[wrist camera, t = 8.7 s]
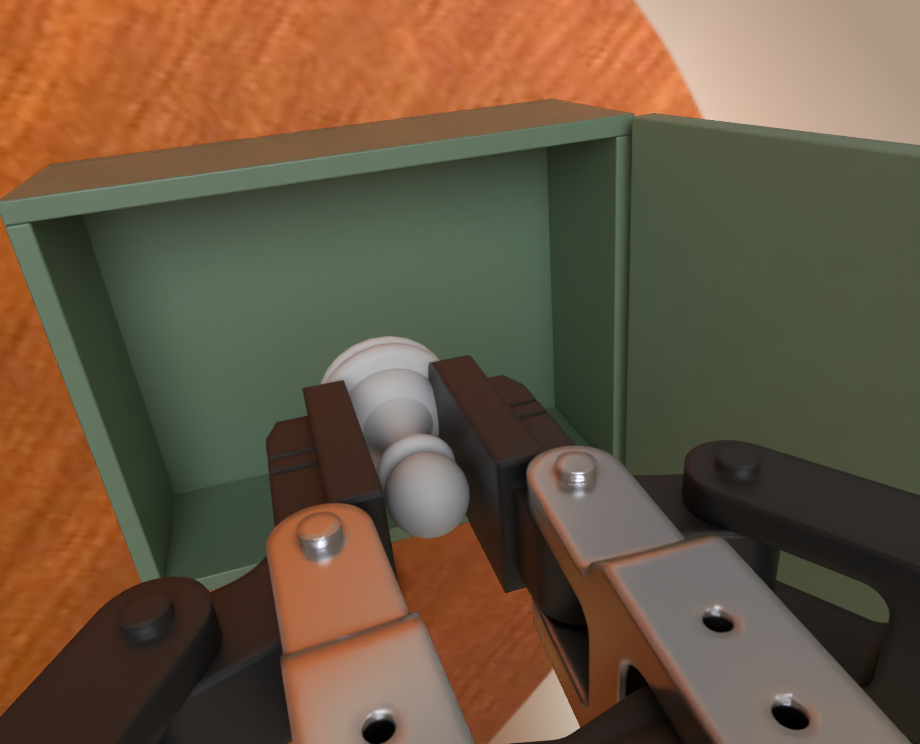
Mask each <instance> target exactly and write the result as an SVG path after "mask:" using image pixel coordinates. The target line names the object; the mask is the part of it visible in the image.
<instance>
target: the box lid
mask: <svg viewBox="0 0 920 744" xmlns="http://www.w3.org/2000/svg"><path fill="white" fill-rule="evenodd" d="M718 440H735V441H743V442H749V443H753V444H756V445H760V446H763V447H766V448H769V449H773V450H776V451H779V452H782V453H785V454H789V455H792V456H795V457H798V458H802V459H805V460H808V461H811V462H814V463H818V464H821V465H824V466H827V467H831V468H834V469H837V470H840V471H843V472H847V473H850V474H853V475H856V476H859V477H863V478H866V479H869V480H872V481H876V482H879V483H882V484H885V485H888V486H892V487H895V488H898V489H901V490H905V491H908V492H911V493H914V494H917V495H920V145H913V144H905V143H897V142H888V141H879V140H871V139H863V138H855V137H846V136H838V135H830V134H822V133H813V132H805V131H796V130H789V129H780V128H772V127H764V126H755V125H747V124H738V123H730V122H722V121H714V120H705V119H697V118H689V117H680V116H672V115H664V114H656V113H653V114H647V115H641V116H635V117H633V122H632V172H631V222H630V271H629V321H628V371H627V420H626V468H627V470H628V471H629V472H630V473H631V474H632V475H669V474H684V460H685V457H686V455H687V454H688V452H689V451H690V450H692V449H693V448H694V447H696V446H698V445H700V444H703V443H706V442H711V441H718ZM776 580H778V581H780V582H782V583H785V584H787V585H789V586H792V587H794V588H797V589H799V590H801V591H804V592H806V593H808V594H811V595H813V596H815V597H818V598H820V599H823V600H825V601H827V602H830V603H832V604H834V605H837V606H839V607H841V608H844V609H846V610H849V611H851V612H853V613H856V614H858V615H860V616H863V617H865V618H867V619H870V620H873V621H876V622H882V623H888V621H889V609H888V606H887V604H886V602H885V601H884V599H883V598H882V597H881V596H880V595H879V594H878V593H877V592H876V591H875V590H874V589H872V588H871V587H869V586H868V585H866V584H864V583H862V582H860V581H857V580H854V579H852V578H849V577H847V576H844V575H842V574H839V573H837V572H834V571H832V570H829V569H827V568H824V567H822V566H819V565H817V564H814V563H812V562H809V561H806V560H804V559H801V558H799V557H796V556H794V555H791V554H789V553H786V552H784V551H781V552H780V558H779V564H778V571H777V577H776Z"/></svg>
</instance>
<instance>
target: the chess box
mask: <svg viewBox="0 0 920 744" xmlns="http://www.w3.org/2000/svg"><path fill="white" fill-rule="evenodd" d="M633 117H634V114H633V113H628V112H623V111H617V110H612V109H606V108H601V107H595V106H590V105H584V104H579V103H573V102H568V101H562V100H556V99H548V100H540V101H533V102H525V103H517V104H509V105H502V106H494V107H486V108H479V109H471V110H463V111H456V112H448V113H440V114H433V115H425V116H417V117H409V118H402V119H394V120H386V121H379V122H371V123H363V124H356V125H348V126H340V127H332V128H325V129H317V130H309V131H302V132H294V133H286V134H279V135H271V136H263V137H256V138H248V139H240V140H232V141H225V142H217V143H209V144H202V145H194V146H186V147H179V148H171V149H163V150H155V151H148V152H140V153H132V154H125V155H117V156H109V157H102V158H94V159H86V160H79V161H71V162H63V163H55V164H50V165H48V166H47V167H45V168H44V169H42V170H41V171H40V172H38V173H37V174H35V175H34V176H32V177H31V178H30V179H28V180H27V181H25V182H24V183H22V184H21V185H20V186H18V187H17V188H15V189H14V190H13V191H11V192H10V193H8V194H7V195H5V196H4V197H3V198H1V199H0V216H1V219H2V221H3V224H4V225H7V226H6V231H7V234H8V236H9V239H10V241H11V244H12V247H13V249H14V252H15V255H16V257H17V260H18V262H19V265H20V268H21V270H22V273H23V275H24V278H25V281H26V283H27V286H28V288H29V291H30V294H31V296H32V299H33V301H34V304H35V307H36V309H37V312H38V314H39V317H40V320H41V322H42V325H43V327H44V330H45V333H46V335H47V338H48V340H49V343H50V346H51V348H52V351H53V353H54V356H55V359H56V361H57V364H58V366H59V369H60V372H61V374H62V377H63V380H64V382H65V385H66V387H67V390H68V393H69V395H70V398H71V400H72V403H73V406H74V408H75V411H76V413H77V416H78V419H79V421H80V424H81V426H82V429H83V432H84V434H85V437H86V439H87V442H88V445H89V447H90V450H91V452H92V455H93V458H94V460H95V463H96V465H97V468H98V471H99V473H100V476H101V478H102V481H103V484H104V486H105V489H106V491H107V494H108V497H109V499H110V502H111V504H112V507H113V510H114V512H115V515H116V518H117V520H118V523H119V525H120V528H121V531H122V533H123V536H124V538H125V541H126V544H127V546H128V549H129V551H130V554H131V557H132V559H133V562H134V564H135V567H136V570H137V572H138V575H139V577H140V580H141V583H143V582H146V581H150V580H153V579H157V578H163V577H173V576H177V577H187V578H192V579H194V580H196V581H199V582H200V583H202V584H203V585H204V586H205V587H206V588H207V589H208V591H209V590H213V589H217V588H221V587H223V586H225V585H227V584H229V583H231V582H233V581H235V580H236V579H238V578H240V577H242V576H243V575H245V574H246V573H248V572H249V571H251V570H252V569H253V568H254V567H256V566H257V565H258V564H259V563H260V562H261V561H262V560H263V559H264V558H265V556H266V555H267V552H266V544H267V540H268V538H269V536H270V534H271V532H272V531H273V530H274V528H275V526H274V517H273V507H272V498H271V488H270V478H269V476H270V475H269V469H268V458H267V450H266V438H267V437H268V435H269V434H270V432H271V430H272V429H273V427H274V425H275V424H276V422H279V421H284V420H289V419H294V418H298V417H303V416H307V411H306V406H305V401H304V396H303V391H302V388H305V387H310V386H315V385H320V383H321V381H322V379H323V376H324V374H325V372H326V370H327V369H328V367H329V366H330V365H331V364H332V363H333V362H334V360H335V359H336V358H337V357H338V356H339V355H340V354H342V353H343V352H344V351H346V350H347V349H349V348H350V347H351V346H353V345H355V344H357V343H360V342H362V341H365V340H367V339H370V338H376V337H383V336H394V337H403V338H408V339H410V340H413V341H415V342H418V343H420V344H422V345H424V346H425V347H426V348H428V349H429V350H430V351H432V352H433V353H434V354H435V355H436V356H437V358H438V359H439V360H445V359H450V358H455V357H460V356H465V355H470V356H471V357H472V358H473V359H474V361H475V362H476V363H477V365H478V366H479V367H480V368H481V370H482V371H483V372H484V374H485V375H486V376H487V377H488V378H489V377H494V376H499V375H504V376H507V377H509V378H511V379H513V380H515V381H517V382H520V383H522V384H524V385H525V386H526V387H527V388H528V390H529V391H530V392H531V393H532V394H533V395H534V397H535V398H536V400H537V401H539V402H540V403H541V405H542V406H543V407H544V408H545V409H546V412H547V413H549V414H550V415H551V416H552V417H553V418H554V419H555V421H556V422H557V423H558V424H559V425H560V426H561V428H562V429H563V430H564V431H565V432H566V433H567V434H568V436H569V437H570V438H571V439H572V440H573V441H574V442H575V444H576V445H577V446H587V447H593V448H597V449H600V450H603V451H606V452H608V453H610V454H612V455H613V456H615V457H616V458H618V459H619V460H620V461H621V462H622V464H623V465H624V466H625V467H626V420H627V371H628V321H629V271H630V222H631V172H632V122H633ZM384 499H385V495H384ZM385 506H386V499H385ZM386 512H387V518H388V525H389V531H390V538H391V542H395V541H399V540H403V539H406V538H410V537H414V536H412V535H410V534H409V533H407V532H405V531H404V530H402V529H400V527H399V526H398V525H397V524H396V523H395V522H394V521H393V519H392V518H391V516H390V514H389V511H388V509H387V506H386ZM467 522H469V520H468V519H467V517H466V515H464V517H463V519H462V521H461V522H460V523H459V524H463V523H467ZM459 524H458V525H459Z"/></svg>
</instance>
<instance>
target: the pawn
mask: <svg viewBox="0 0 920 744" xmlns="http://www.w3.org/2000/svg"><path fill="white" fill-rule="evenodd" d="M435 361H440V360H439V359H438V358H437V356H436V355H435V354H434V353H433V352H432V351H430V350H429V349H428V348H426V347H425V346H424V345H422V344H420V343H418V342H415V341H413V340H410V339H408V338H403V337H394V336H383V337H376V338H370V339H367V340H365V341H362V342H360V343H357V344H355V345H353V346H351V347H350V348H349V349H347V350H346V351H344V352H343V353H342V354H340V355H339V356H338V357H337V358H336V359H335V360H334V362H333V363H332V364H331V365H330V366H329V367H328V369H327V370H326V372H325V374H324V376H323V379H322V381H321V383H320V384H325V383H330V382H335V381H340V380H344V382H345V385H346V387H347V390H348V393H349V396H350V399H351V402H352V404H353V407H354V410H355V413H356V416H357V418H358V421H359V424H360V427H361V430H362V433H363V435H364V438H365V441H366V444H367V447H368V449H369V452H370V455H371V458H372V461H373V464H374V466H375V469H376V472H377V475H378V478H379V480H380V483H381V486H382V489H383V493H384V495H385V499H386V506H387V509H388V511H389V514H390V516H391V518H392V519H393V521H394V522H395V523H396V524H397V525H398V526H399V527H400V529H402V530H404V531H405V532H407V533H409V534H410V535H412V536H416V537H420V538H435V537H440V536H442V535H445V534H447V533H449V532H450V531H452V530H453V529H454V528H456V526H457V525H458V524H459V523H460V522H461V521H462V519H463V517H464V515H465V514H466V512H467V509H468V505H469V499H470V492H469V485H468V482H467V479H466V476H465V474H464V473H463V471H462V470H461V468H460V467H459V466H458V465H457V464H456V459H455V457H454V454H453V451H452V449H451V448H450V447H449V446H448V444H447V443H446V442H444V441H443V440H441V439H440V438H439V425H438V416H437V408H436V402H435V397H434V393H433V389H432V386H431V383H430V381H429V378H428V365H429V363H430V362H435Z"/></svg>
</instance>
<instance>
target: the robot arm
mask: <svg viewBox="0 0 920 744" xmlns="http://www.w3.org/2000/svg"><path fill="white" fill-rule="evenodd" d="M428 378H429V381H430V383H431V386H432V389H433V393H434V397H435V402H436V408H437V416H438V425H439V438H440V439H441V440H443V441H444V442H446V443H447V444H448V446H449V447H450V448H451V449H452V451H453V454H454V457H455V459H456V464H457V465H458V466H459V467H460V468H461V470H462V471H463V473H464V474H465V476H466V479H467V482H468V485H469V492H470V499H469V505H468V509H467V512H466V514H465V515H466V517H467V519H468V520H469V522H470V524H471V526H472V528H473V530H474V532H475V534H476V536H477V538H478V540H479V542H480V544H481V546H482V548H483V550H484V552H485V554H486V556H487V558H488V560H489V562H490V564H491V566H492V568H493V570H494V572H495V574H496V576H497V578H498V580H499V582H500V584H501V585H502V587H503V589H504V591H505V593H508V592H511V591H515V590H518V589H522V588H525V587H527V589H528V591H529V593H530V594H531V596H532V608H533V623H534V626H535V629H536V631H537V633H538V636H539V638H540V640H541V642H542V644H543V647H544V649H545V651H546V653H547V655H548V657H549V660H550V662H551V664H552V666H553V668H554V671H555V673H556V675H557V677H558V679H559V682H560V684H561V686H562V688H563V690H564V692H565V695H566V697H567V699H568V701H569V703H570V705H571V708H572V710H573V712H574V714H575V716H576V719H577V721H578V723H579V726H580V728H579V729H578V730H576V731H575V732H573V733H572V734H570V735H568V736H567V737H564V738H561V739H557V740H548V741H537V742H524V743H512V744H920V495H917V494H914V493H911V492H908V491H905V490H901V489H898V488H895V487H892V486H888V485H885V484H882V483H879V482H876V481H872V480H869V479H866V478H863V477H859V476H856V475H853V474H850V473H847V472H843V471H840V470H837V469H834V468H831V467H827V466H824V465H821V464H818V463H814V462H811V461H808V460H805V459H802V458H798V457H795V456H792V455H789V454H785V453H782V452H779V451H776V450H773V449H769V448H766V447H763V446H760V445H756V444H753V443H749V442H743V441H735V440H718V441H711V442H706V443H703V444H700V445H698V446H696V447H694V448H693V449H692V450H690V451H689V452H688V454H687V455H686V457H685V460H684V474H669V475H632V474H631V473H630V472H629V471H628V470H627V468H626V467H625V466H624V465H623V464H622V462H621V461H620V460H619V459H618V458H616V457H615V456H613V455H612V454H610V453H608V452H606V451H603V450H600V449H597V448H593V447H587V446H577V445H576V444H575V442H574V441H573V440H572V439H571V438H570V437H569V436H568V434H567V433H566V432H565V431H564V430H563V429H562V428H561V426H560V425H559V424H558V423H557V422H556V421H555V419H554V418H553V417H552V416H551V415H550V414H549V413H547V412H546V409H545V408H544V407H543V406H542V405H541V403H540V402H539V401H537V400H536V398H535V397H534V395H533V394H532V393H531V392H530V391H529V390H528V388H527V387H526V386H525V385H524V384H522V383H520V382H517V381H515V380H513V379H511V378H509V377H507V376H504V375H499V376H494V377H489V378H488V377H487V376H486V375H485V374H484V372H483V371H482V370H481V368H480V367H479V366H478V365H477V363H476V362H475V361H474V359H473V358H472V357H471V356H470V355H465V356H460V357H455V358H450V359H445V360H440V361H435V362H430V363H429V365H428ZM302 391H303V396H304V401H305V406H306V411H307V416H303V417H298V418H294V419H289V420H284V421H279V422H276V424H275V425H274V427H273V429H272V430H271V432H270V434H269V435H268V437H267V438H266V450H267V458H268V469H269V475H270V476H269V478H270V488H271V498H272V507H273V517H274V526H275V528H274V530H273V531H272V532H271V534H270V536H269V538H268V540H267V544H266V552H267V555H266V556H265V558H264V559H263V560H262V561H261V562H260V563H259V564H258V565H257V566H256V567H254V568H253V569H252V570H251V571H249V572H248V573H246V574H245V575H243V576H242V577H240V578H238V579H236V580H235V581H233V582H231V583H229V584H227V585H225V586H223V587H221V588H219V589H217V590H215V591H213V592H211V593H209V591H208V589H207V588H206V587H205V586H204V585H203V584H202V583H200V582H199V581H196V580H194V579H192V578H187V577H177V576H173V577H163V578H157V579H153V580H150V581H146V582H143V583H141V584H138V585H136V586H133V587H131V588H129V589H127V590H125V591H123V592H122V593H120V594H119V595H117V596H116V597H114V598H113V599H111V600H110V601H109V602H107V603H106V604H105V605H104V606H103V607H102V608H101V609H100V610H99V611H98V612H97V613H96V614H95V615H94V616H93V617H92V618H91V619H90V620H89V621H88V622H87V624H86V625H85V626H84V627H83V628H82V629H81V630H80V631H79V632H78V633H77V634H76V635H75V637H74V638H73V639H72V640H71V641H70V642H69V643H68V644H67V645H66V646H65V647H64V648H63V650H62V651H61V652H60V653H59V654H58V655H57V656H56V657H55V658H54V659H53V660H52V661H51V663H50V664H49V665H48V666H47V667H46V668H45V669H44V670H43V671H42V672H41V673H40V674H39V676H38V677H37V678H36V679H35V680H34V681H33V682H32V683H31V684H30V685H29V686H28V687H27V689H26V690H25V691H24V692H23V693H22V694H21V695H20V696H19V697H18V698H17V699H16V700H15V702H14V703H13V704H12V705H11V706H10V707H9V708H8V709H7V710H6V711H5V712H4V713H3V715H2V716H1V717H0V744H288V743H290V742H291V741H293V744H475V742H474V740H473V737H472V735H471V732H470V730H469V728H468V725H467V723H466V720H465V718H464V716H463V713H462V711H461V709H460V706H459V704H458V701H457V699H456V697H455V694H454V692H453V689H452V687H451V685H450V682H449V680H448V678H447V675H446V673H445V670H444V668H443V666H442V663H441V661H440V658H439V656H438V654H437V651H436V649H435V646H434V644H433V642H432V639H431V637H430V635H429V632H428V630H427V627H426V625H425V623H424V621H423V619H422V617H421V615H420V614H419V613H418V612H414V613H411V614H410V613H409V610H408V608H407V605H406V603H405V600H404V598H403V595H402V593H401V590H400V588H399V585H398V583H397V576H396V570H395V563H394V557H393V551H392V544H391V538H390V531H389V525H388V518H387V512H386V506H385V499H384V493H383V489H382V486H381V483H380V480H379V478H378V475H377V472H376V469H375V466H374V464H373V461H372V458H371V455H370V452H369V449H368V447H367V444H366V441H365V438H364V435H363V433H362V430H361V427H360V424H359V421H358V418H357V416H356V413H355V410H354V407H353V404H352V402H351V399H350V396H349V393H348V390H347V387H346V385H345V382H344V380H340V381H335V382H330V383H325V384H320V385H315V386H310V387H305V388H302ZM781 551H784V552H786V553H789V554H791V555H794V556H796V557H799V558H801V559H804V560H806V561H809V562H812V563H814V564H817V565H819V566H822V567H824V568H827V569H829V570H832V571H834V572H837V573H839V574H842V575H844V576H847V577H849V578H852V579H854V580H857V581H860V582H862V583H864V584H866V585H868V586H869V587H871V588H872V589H874V590H875V591H876V592H877V593H878V594H879V595H880V596H881V597H882V598H883V599H884V601H885V602H886V604H887V606H888V609H889V621H888V623H882V622H876V621H873V620H870V619H867V618H865V617H863V616H860V615H858V614H856V613H853V612H851V611H849V610H846V609H844V608H841V607H839V606H837V605H834V604H832V603H830V602H827V601H825V600H823V599H820V598H818V597H815V596H813V595H811V594H808V593H806V592H804V591H801V590H799V589H797V588H794V587H792V586H789V585H787V584H785V583H782V582H780V581H778V580H776V577H777V571H778V564H779V558H780V552H781Z"/></svg>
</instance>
